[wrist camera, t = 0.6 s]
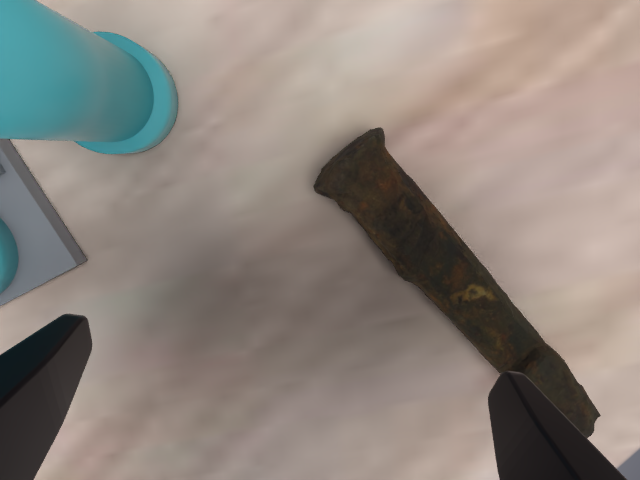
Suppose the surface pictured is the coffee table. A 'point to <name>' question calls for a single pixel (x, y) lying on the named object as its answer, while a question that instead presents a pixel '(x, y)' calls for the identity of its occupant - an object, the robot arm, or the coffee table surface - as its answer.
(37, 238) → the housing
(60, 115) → the teal peg
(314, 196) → the coffee table surface
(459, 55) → the coffee table surface
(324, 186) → the hand tool
